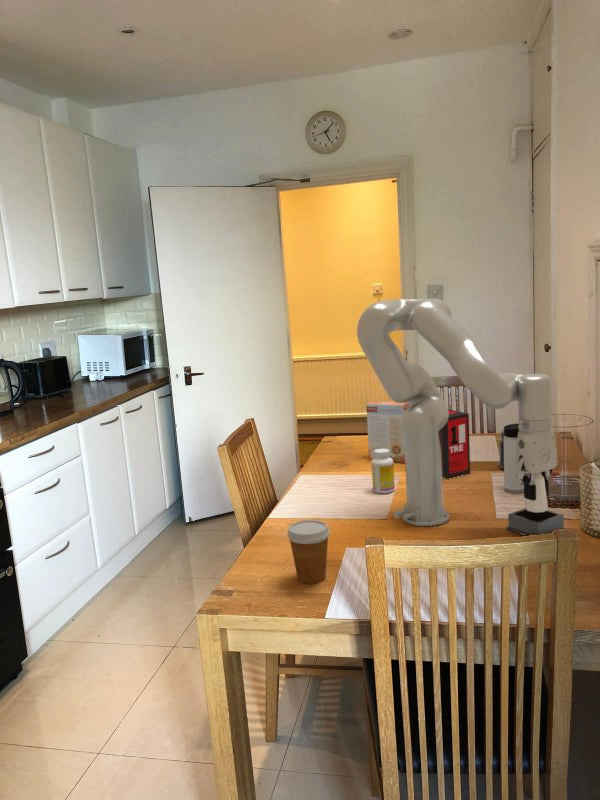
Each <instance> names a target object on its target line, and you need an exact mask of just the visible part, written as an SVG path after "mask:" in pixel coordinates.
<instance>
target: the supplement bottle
mask: <svg viewBox="0 0 600 800" xmlns="http://www.w3.org/2000/svg"><path fill="white" fill-rule="evenodd" d="M389 454H390V452H389V450H388V449H376V450H374V455H375V458H374V459H373V460H371V476H372V478H371V479H372V480H371V481H372V490H373V492H374V493H377V494H380V493H382V494H383V493H384V495H385V493H386V494H390V493H393V492H394V491H395V488H396V487H395V470H394V462H393V460H392V458H390V457H389Z"/></svg>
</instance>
